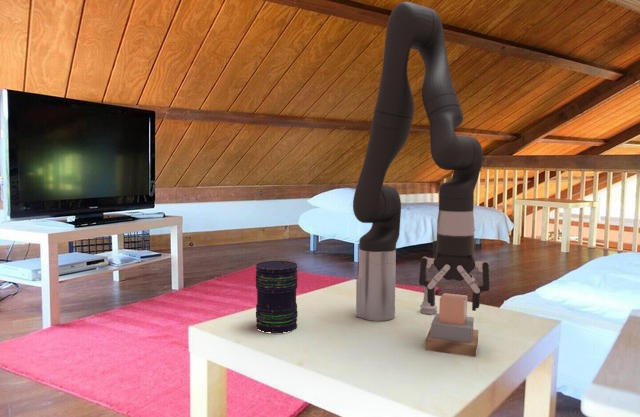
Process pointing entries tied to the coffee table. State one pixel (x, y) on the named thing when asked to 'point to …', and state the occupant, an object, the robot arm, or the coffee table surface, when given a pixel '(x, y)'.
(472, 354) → the walnut base slab
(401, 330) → the coffee table surface
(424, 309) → the rook chess piece
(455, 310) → the terracotta cube
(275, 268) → the storage jar
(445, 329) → the slate top block
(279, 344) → the coffee table surface
